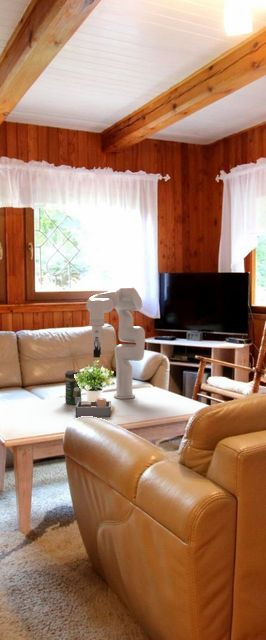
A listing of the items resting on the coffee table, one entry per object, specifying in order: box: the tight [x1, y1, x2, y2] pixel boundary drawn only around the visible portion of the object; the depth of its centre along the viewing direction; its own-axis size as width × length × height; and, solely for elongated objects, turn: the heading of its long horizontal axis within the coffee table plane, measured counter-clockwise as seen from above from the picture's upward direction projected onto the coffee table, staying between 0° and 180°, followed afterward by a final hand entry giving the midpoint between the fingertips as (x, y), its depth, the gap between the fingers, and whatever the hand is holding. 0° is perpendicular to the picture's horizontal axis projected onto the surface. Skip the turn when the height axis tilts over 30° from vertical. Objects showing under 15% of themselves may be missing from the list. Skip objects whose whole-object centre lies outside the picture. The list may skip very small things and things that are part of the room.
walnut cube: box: [81, 402, 91, 407], centre depth 278 cm, size 5×5×5 cm
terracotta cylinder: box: [96, 397, 107, 407], centre depth 279 cm, size 5×5×7 cm
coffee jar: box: [64, 369, 82, 406], centre depth 302 cm, size 10×8×19 cm
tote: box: [75, 400, 112, 418], centre depth 278 cm, size 14×18×5 cm
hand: (97, 356), depth 276 cm, fingers open, 9 cm apart
